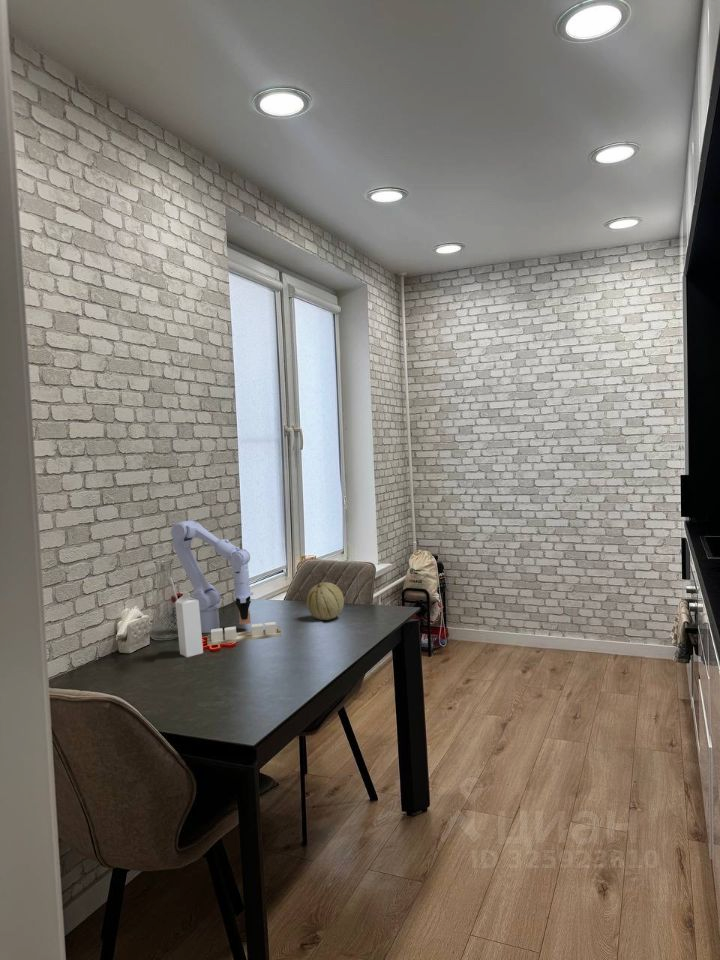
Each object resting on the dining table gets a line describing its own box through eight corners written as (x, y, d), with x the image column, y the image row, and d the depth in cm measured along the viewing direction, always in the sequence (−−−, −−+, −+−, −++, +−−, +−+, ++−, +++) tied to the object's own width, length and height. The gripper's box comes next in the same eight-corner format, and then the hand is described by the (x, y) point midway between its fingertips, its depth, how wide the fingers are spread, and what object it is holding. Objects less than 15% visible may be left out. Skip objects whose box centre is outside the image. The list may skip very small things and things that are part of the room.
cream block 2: (225, 641, 241) (224, 630, 241) (225, 638, 245) (224, 627, 245) (236, 640, 242) (235, 629, 242) (236, 637, 246) (235, 626, 245)
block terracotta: (239, 624, 252) (239, 614, 252) (239, 622, 256) (239, 611, 256) (250, 623, 253) (249, 612, 253) (250, 620, 257) (249, 610, 257)
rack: (207, 647, 238) (207, 640, 238) (208, 641, 246) (208, 634, 246) (281, 638, 242) (280, 631, 242) (279, 632, 251) (279, 625, 251)
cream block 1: (211, 643, 240) (210, 632, 240) (212, 640, 244) (211, 629, 244) (223, 641, 241) (222, 630, 241) (223, 638, 245) (222, 628, 245)
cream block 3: (252, 638, 243) (251, 627, 243) (252, 635, 247) (251, 624, 246) (263, 636, 243) (262, 625, 243) (263, 633, 247) (262, 623, 247)
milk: (186, 659, 226) (180, 594, 224) (180, 656, 230) (173, 592, 229) (203, 655, 229) (197, 591, 228) (196, 651, 234) (190, 589, 233)
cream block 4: (265, 636, 244) (264, 625, 243) (265, 633, 248) (264, 622, 247) (276, 635, 244) (276, 624, 244) (276, 632, 248) (275, 621, 248)
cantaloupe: (349, 614, 270) (346, 577, 269) (339, 624, 256) (336, 585, 255) (314, 614, 274) (311, 578, 273) (302, 624, 259) (299, 586, 259)
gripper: (252, 584, 247) (255, 621, 248) (251, 577, 262) (254, 612, 262) (233, 586, 246) (236, 623, 247) (233, 579, 260) (236, 614, 261)
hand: (244, 617), depth 254 cm, fingers closed on block terracotta, 4 cm apart
